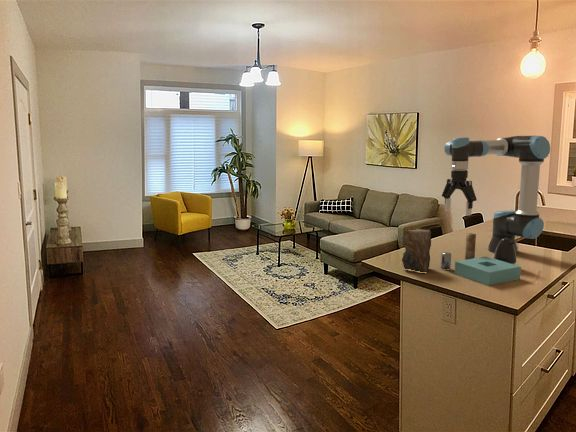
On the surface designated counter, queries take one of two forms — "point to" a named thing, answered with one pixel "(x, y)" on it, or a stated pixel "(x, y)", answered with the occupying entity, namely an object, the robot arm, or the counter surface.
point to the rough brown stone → (417, 250)
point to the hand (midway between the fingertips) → (457, 213)
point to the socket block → (487, 270)
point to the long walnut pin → (470, 246)
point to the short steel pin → (446, 260)
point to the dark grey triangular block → (506, 251)
